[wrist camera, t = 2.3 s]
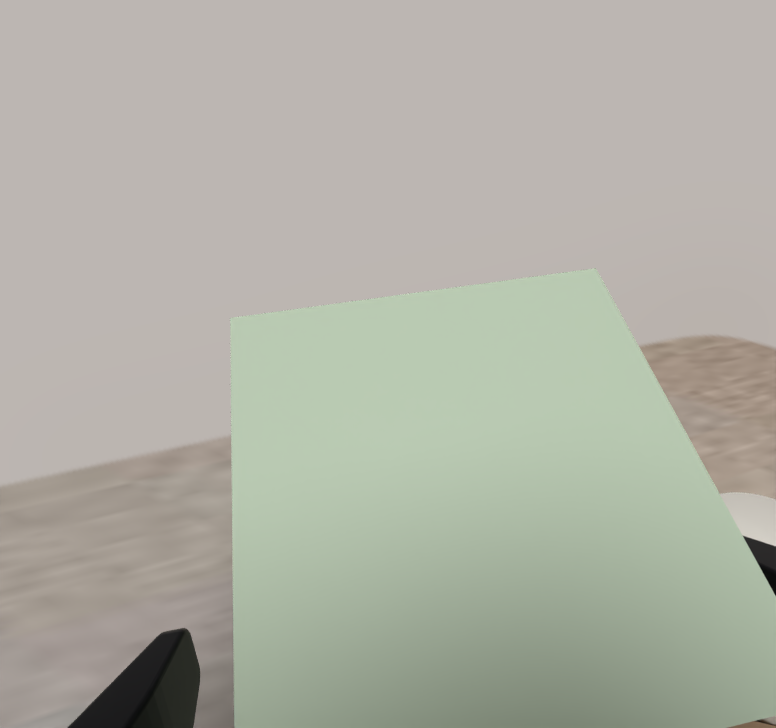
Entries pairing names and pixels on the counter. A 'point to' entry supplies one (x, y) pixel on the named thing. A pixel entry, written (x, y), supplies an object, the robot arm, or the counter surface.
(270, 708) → the carton
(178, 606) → the counter surface
